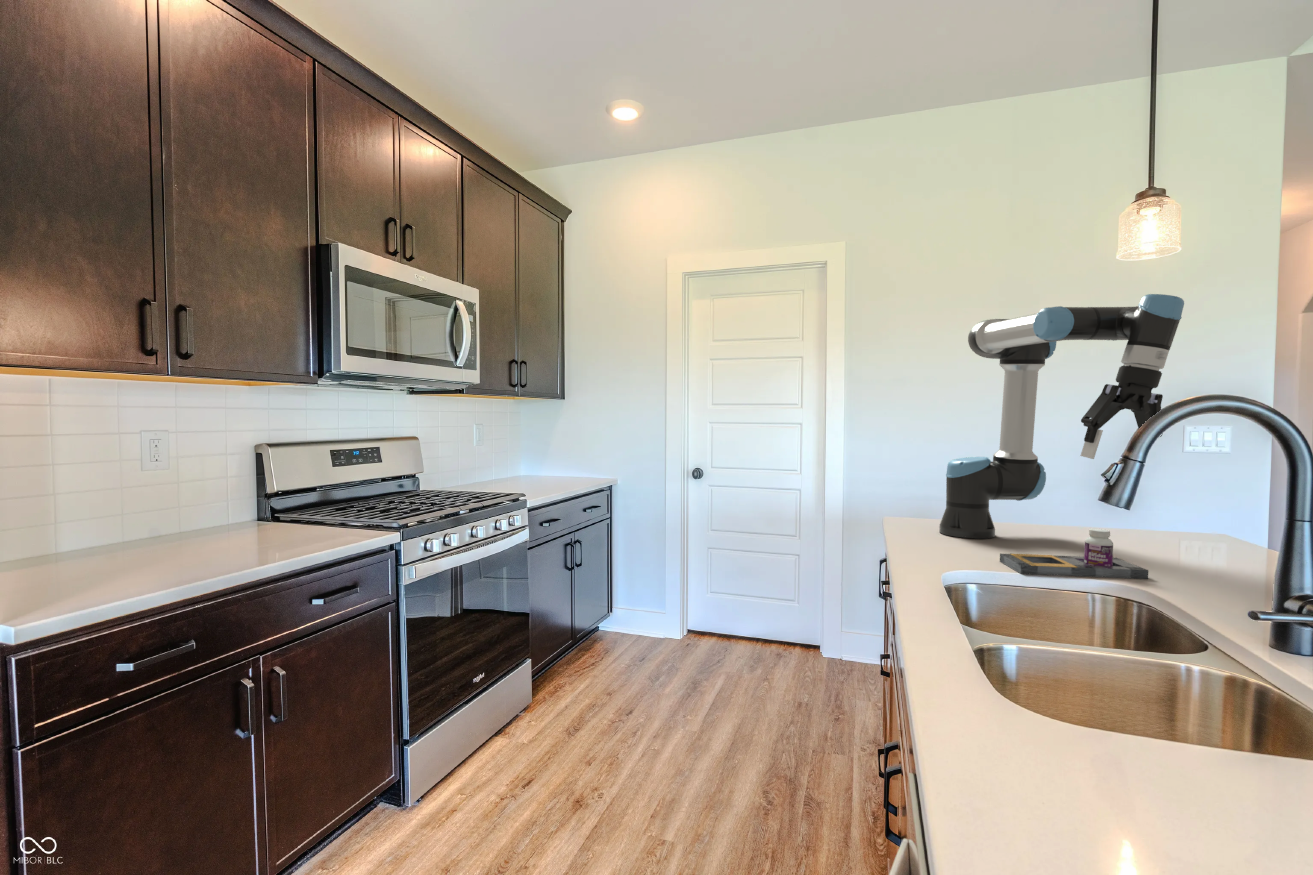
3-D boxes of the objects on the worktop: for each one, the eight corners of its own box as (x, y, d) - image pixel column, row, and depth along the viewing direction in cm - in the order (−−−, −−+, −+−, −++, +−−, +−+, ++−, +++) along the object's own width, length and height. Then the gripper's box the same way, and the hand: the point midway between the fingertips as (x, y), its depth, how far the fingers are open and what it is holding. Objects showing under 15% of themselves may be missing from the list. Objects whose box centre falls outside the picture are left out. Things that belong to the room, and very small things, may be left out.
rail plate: (999, 561, 150) (999, 553, 150) (1116, 565, 146) (1116, 557, 146) (1020, 573, 138) (1021, 564, 138) (1148, 579, 134) (1148, 569, 134)
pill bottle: (1087, 572, 140) (1088, 530, 139) (1081, 567, 145) (1082, 527, 144) (1115, 574, 138) (1117, 532, 137) (1108, 569, 143) (1109, 528, 142)
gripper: (1112, 359, 125) (1081, 458, 129) (1202, 378, 131) (1170, 472, 135) (1080, 356, 133) (1052, 450, 136) (1167, 374, 139) (1137, 464, 142)
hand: (1111, 461), depth 136 cm, fingers open, 13 cm apart
